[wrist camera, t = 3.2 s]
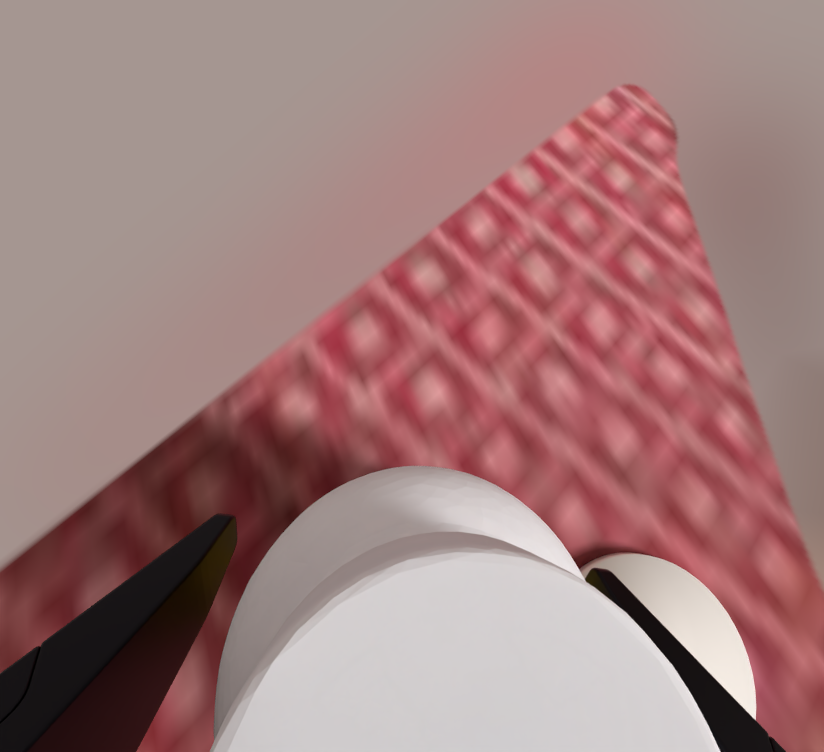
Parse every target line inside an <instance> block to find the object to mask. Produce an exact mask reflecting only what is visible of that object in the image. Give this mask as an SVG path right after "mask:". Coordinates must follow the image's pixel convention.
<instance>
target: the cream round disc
mask: <svg viewBox="0 0 824 752" xmlns="http://www.w3.org/2000/svg"><path fill="white" fill-rule="evenodd" d="M592 568H602V569H607V570H610V571H611V572H612V573H613V574H614V575H615V576H616V577H617V578H618V579H619V580H620V581H621V582H622V583H623V584H624V585H625V586H626V587H627V588H628V589H629V590H630V591H631V592H632V593H633V594H634V595H635V596H636V597H637V598H638V599H639V600H640V602H641V603H642V604H643V605H644V606H645V607H646V608H647V609H648V610H649V611H650V612H651V613H652V614H653V615H654V616H655V617H656V618H657V619H658V620H659V621H660V622H661V623H662V624H663V625H664V626H665V627H666V628H667V629H668V630H669V631H670V633H671V634H672V635H673V636H674V637H675V638H676V639H677V640H678V641H679V642H680V643H681V644H682V645H683V646H684V647H685V648H686V649H687V650H688V651H689V652H690V653H691V654H692V655H693V656H694V657H695V658H696V659H697V660H698V661H699V662H700V664H701V665H702V666H703V667H704V668H705V669H706V670H707V671H708V672H709V673H710V674H711V675H712V676H713V677H714V678H715V679H716V680H717V681H718V682H719V683H720V684H721V685H722V686H723V687H724V688H725V689H726V690H727V691H728V692H729V693H730V694H731V696H732V697H733V698H734V699H735V700H736V701H737V702H738V703H739V704H740V705H741V706H742V707H743V708H744V709H745V710H746V711H747V712H748V713H749V714H750V715H751V716H752V717H753V718H754V719H755V720H756V696H755V686H754V680H753V674H752V670H751V666H750V662H749V658H748V655H747V653H746V650H745V647H744V644H743V642H742V639H741V637H740V635H739V633H738V631H737V629H736V627H735V625H734V623H733V622H732V620H731V618H730V617H729V615H728V613H727V612H726V610H725V609H724V608H723V606H722V605H721V603H720V602H719V601H718V599H717V598H716V597H715V596H714V595H713V594H712V593H711V592H710V590H709V589H708V588H707V587H705V586H704V585H703V584H702V583H701V582H700V581H699V580H698V579H697V578H695V577H694V576H693V575H691V574H690V573H688V572H687V571H686V570H684V569H682V568H680V567H679V566H677V565H675V564H673V563H670V562H668V561H666V560H663V559H660V558H656V557H652V556H648V555H644V554H639V553H630V552H623V553H613V554H608V555H604V556H602V557H599V558H596V559H594V560H592V561H590V562H589V563H587V564H585V565H584V566H583V567H581V568H580V569H579V570H580V572H581V574H582V576H583V577H584V579H585V578H586V576H587V574H588V573H589V571H590V570H591V569H592Z"/></svg>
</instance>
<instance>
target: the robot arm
mask: <svg viewBox="0 0 824 752" xmlns="http://www.w3.org/2000/svg"><path fill="white" fill-rule="evenodd" d="M236 543H237V526H236V518H235V516H233V515H228V514H216V515H214V516H213V517H212V518H210V519H209V520H208V521H206V522H205V523H203V524H202V525H201V526H199V527H198V528H197V529H195V530H194V531H193V532H191V533H190V534H189V535H187V536H186V537H185V538H183V539H182V540H180V541H179V542H178V543H176V544H175V545H174V546H172V547H171V548H170V549H168V550H167V551H166V552H164V553H163V554H162V555H160V556H159V557H157V558H156V559H155V560H153V561H152V562H151V563H149V564H148V565H147V566H145V567H144V568H143V569H141V570H140V571H139V572H137V573H136V574H135V575H133V576H132V577H130V578H129V579H128V580H126V581H125V582H124V583H122V584H121V585H120V586H118V587H117V588H116V589H114V590H113V591H112V592H110V593H109V594H107V595H106V596H105V597H103V598H102V599H101V600H99V601H98V602H97V603H95V604H94V605H93V606H91V607H90V608H89V609H87V610H86V611H84V612H83V613H82V614H80V615H79V616H78V617H76V618H75V619H74V620H72V621H71V622H70V623H68V624H67V625H66V626H64V627H63V628H62V629H60V630H59V631H57V632H56V633H55V634H53V635H52V636H51V637H49V638H48V639H47V640H45V641H44V642H43V643H42V644H41V647H40V646H38V647H36V648H34V649H33V650H32V651H30V652H29V653H27V654H26V655H25V656H23V657H22V658H21V659H19V660H18V661H17V662H15V663H14V664H13V665H11V666H10V667H8V668H7V669H6V670H4V671H3V672H1V673H0V752H136V751H137V749H138V747H139V745H140V743H141V742H142V740H143V738H144V736H145V734H146V732H147V730H148V728H149V726H150V724H151V722H152V721H153V719H154V717H155V715H156V713H157V711H158V709H159V707H160V705H161V703H162V701H163V700H164V698H165V696H166V694H167V692H168V690H169V688H170V686H171V684H172V682H173V681H174V679H175V677H176V675H177V673H178V671H179V669H180V667H181V665H182V663H183V661H184V660H185V658H186V656H187V654H188V652H189V650H190V648H191V646H192V644H193V642H194V641H195V639H196V637H197V635H198V633H199V631H200V629H201V627H202V625H203V623H204V621H205V619H206V617H207V615H208V613H209V611H210V608H211V606H212V604H213V601H214V599H215V596H216V594H217V591H218V589H219V586H220V584H221V581H222V579H223V577H224V574H225V572H226V569H227V567H228V564H229V562H230V559H231V557H232V555H233V552H234V550H235V547H236ZM585 581H586V582H587V583H589V584H590V585H592V586H593V587H595V588H596V589H597V590H599V591H600V592H601V593H602V594H604V595H605V596H606V597H607V598H609V599H610V600H611V601H612V602H614V603H615V604H616V605H617V606H619V607H620V608H621V609H622V610H623V611H625V612H626V613H627V614H628V615H629V616H630V617H631V618H632V619H633V620H634V621H635V622H636V623H637V624H638V626H639V627H640V628H641V629H642V630H643V631H644V632H645V633H646V634H647V635H648V637H649V638H650V639H651V640H652V641H653V643H654V644H655V645H656V646H657V647H658V649H659V650H660V651H661V652H662V653H663V654H664V656H665V657H666V658H667V659H668V660H669V662H670V663H671V664H672V665H673V667H674V668H675V670H676V671H677V673H678V674H679V676H680V677H681V679H682V680H683V682H684V684H685V685H686V687H687V688H688V690H689V691H690V693H691V695H692V696H693V698H694V700H695V702H696V704H697V706H698V708H699V709H700V711H701V713H702V715H703V717H704V719H705V720H706V722H707V724H708V726H709V728H710V730H711V732H712V735H713V737H714V739H715V741H716V743H717V745H718V747H719V750H720V752H786V751H785V750H784V749H783V748H782V747H781V746H780V745H779V744H778V743H777V742H776V741H775V740H774V739H773V738H772V737H770V736H768V733H767V732H766V731H765V730H764V729H763V728H762V727H761V725H760V724H759V723H758V722H757V721H756V720H755V719H754V718H753V717H752V716H751V715H750V714H749V713H748V712H747V711H746V710H745V709H744V708H743V707H742V706H741V705H740V704H739V703H738V702H737V701H736V700H735V699H734V698H733V697H732V696H731V694H730V693H729V692H728V691H727V690H726V689H725V688H724V687H723V686H722V685H721V684H720V683H719V682H718V681H717V680H716V679H715V678H714V677H713V676H712V675H711V674H710V673H709V672H708V671H707V670H706V669H705V668H704V667H703V666H702V665H701V664H700V662H699V661H698V660H697V659H696V658H695V657H694V656H693V655H692V654H691V653H690V652H689V651H688V650H687V649H686V648H685V647H684V646H683V645H682V644H681V643H680V642H679V641H678V640H677V639H676V638H675V637H674V636H673V635H672V634H671V633H670V631H669V630H668V629H667V628H666V627H665V626H664V625H663V624H662V623H661V622H660V621H659V620H658V619H657V618H656V617H655V616H654V615H653V614H652V613H651V612H650V611H649V610H648V609H647V608H646V607H645V606H644V605H643V604H642V603H641V602H640V600H639V599H638V598H637V597H636V596H635V595H634V594H633V593H632V592H631V591H630V590H629V589H628V588H627V587H626V586H625V585H624V584H623V583H622V582H621V581H620V580H619V579H618V578H617V577H616V576H615V575H614V574H613V573H612V572H611V571H610V570H607V569H602V568H592V569H591V570H590V571H589V573H588V574H587V576H586V578H585Z"/></svg>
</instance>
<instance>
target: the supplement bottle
mask: <svg viewBox="0 0 824 752" xmlns="http://www.w3.org/2000/svg"><path fill="white" fill-rule="evenodd" d="M210 752H720V750H719V747H718V745H717V743H716V741H715V739H714V737H713V735H712V732H711V730H710V728H709V726H708V724H707V722H706V720H705V719H704V717H703V715H702V713H701V711H700V709H699V708H698V706H697V704H696V702H695V700H694V698H693V696H692V695H691V693H690V691H689V690H688V688H687V687H686V685H685V684H684V682H683V680H682V679H681V677H680V676H679V674H678V673H677V671H676V670H675V668H674V667H673V665H672V664H671V663H670V662H669V660H668V659H667V658H666V657H665V656H664V654H663V653H662V652H661V651H660V650H659V649H658V647H657V646H656V645H655V644H654V643H653V641H652V640H651V639H650V638H649V637H648V635H647V634H646V633H645V632H644V631H643V630H642V629H641V628H640V627H639V626H638V624H637V623H636V622H635V621H634V620H633V619H632V618H631V617H630V616H629V615H628V614H627V613H626V612H625V611H623V610H622V609H621V608H620V607H619V606H617V605H616V604H615V603H614V602H612V601H611V600H610V599H609V598H607V597H606V596H605V595H604V594H602V593H601V592H600V591H599V590H597V589H596V588H595V587H593V586H592V585H590V584H589V583H587V582H586V581H585V579H584V577H583V576H582V574H581V572H580V570H579V569H578V567H577V565H576V564H575V562H574V560H573V559H572V557H571V555H570V554H569V552H568V551H567V550H566V548H565V547H564V545H563V544H562V543H561V541H560V540H559V539H558V537H557V536H556V535H555V534H554V533H553V531H552V530H551V529H550V528H549V527H548V526H547V525H546V524H545V523H544V522H543V521H542V520H541V519H540V518H539V517H538V516H537V515H536V514H535V513H534V512H533V511H532V510H531V509H529V508H528V507H527V506H526V505H524V504H523V503H522V502H521V501H520V500H518V499H517V498H515V497H514V496H512V495H511V494H509V493H508V492H506V491H505V490H503V489H501V488H499V487H498V486H496V485H494V484H492V483H490V482H488V481H486V480H484V479H481V478H479V477H476V476H473V475H471V474H468V473H464V472H460V471H457V470H453V469H447V468H440V467H430V466H405V467H397V468H390V469H385V470H381V471H377V472H373V473H370V474H367V475H364V476H362V477H359V478H356V479H354V480H351V481H349V482H347V483H345V484H343V485H341V486H339V487H337V488H336V489H334V490H332V491H331V492H329V493H327V494H326V495H324V496H323V497H321V498H320V499H319V500H317V501H316V502H314V503H313V504H312V505H311V506H309V507H308V508H307V509H306V510H305V511H303V512H302V513H301V514H300V515H299V516H298V517H297V518H296V519H295V520H294V521H293V522H292V523H291V524H290V525H289V527H288V528H287V529H286V530H285V531H284V532H283V533H282V534H281V535H280V537H279V538H278V539H277V540H276V542H275V543H274V544H273V545H272V547H271V548H270V549H269V551H268V552H267V554H266V555H265V557H264V558H263V560H262V561H261V563H260V564H259V566H258V567H257V569H256V570H255V572H254V574H253V575H252V577H251V578H250V580H249V582H248V584H247V586H246V589H245V591H244V593H243V595H242V597H241V599H240V601H239V604H238V606H237V609H236V611H235V614H234V617H233V619H232V622H231V625H230V628H229V631H228V634H227V638H226V641H225V645H224V649H223V653H222V657H221V661H220V667H219V673H218V680H217V688H216V698H215V715H214V743H213V745H212V748H211V750H210Z"/></svg>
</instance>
